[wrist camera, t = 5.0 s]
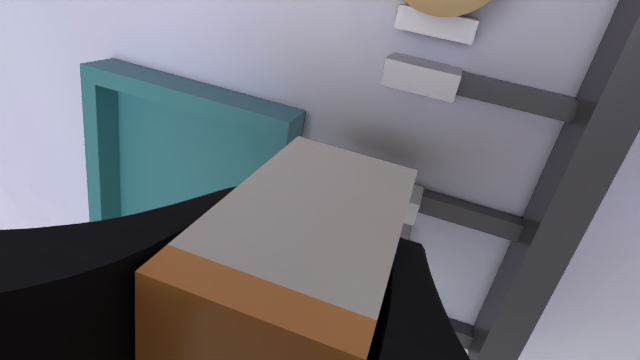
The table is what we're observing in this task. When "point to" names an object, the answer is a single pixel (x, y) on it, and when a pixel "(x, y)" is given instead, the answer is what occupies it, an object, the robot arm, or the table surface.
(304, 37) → the table surface
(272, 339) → the block
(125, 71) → the tray
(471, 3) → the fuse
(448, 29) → the holder block
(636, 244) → the table surface
